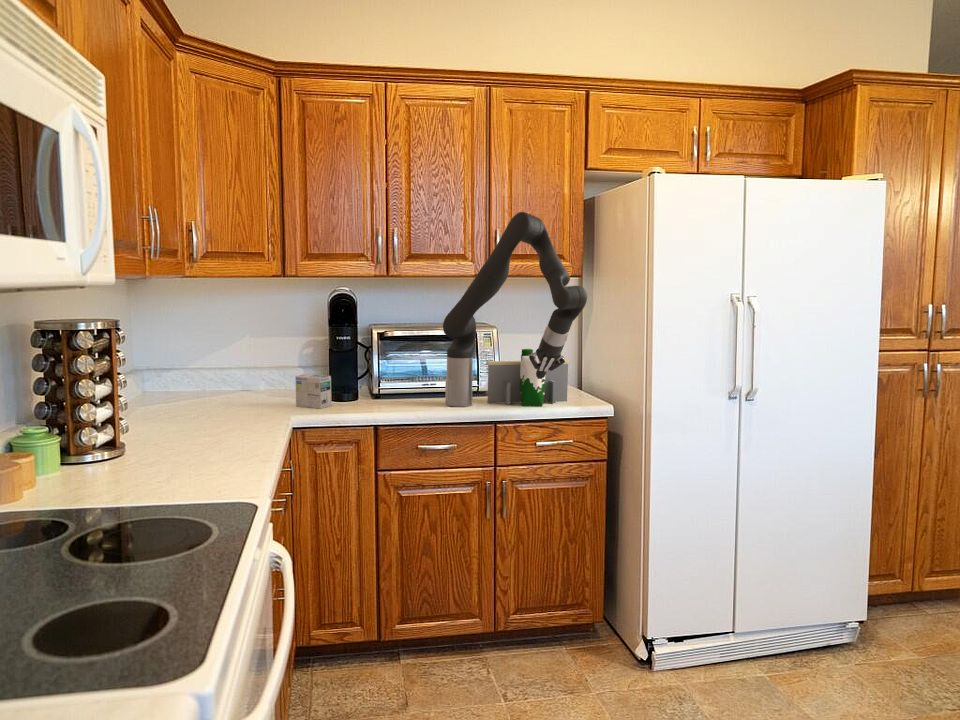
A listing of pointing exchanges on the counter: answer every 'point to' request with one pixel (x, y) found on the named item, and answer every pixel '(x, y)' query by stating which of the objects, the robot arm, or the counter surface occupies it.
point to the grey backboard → (508, 382)
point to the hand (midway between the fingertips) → (539, 377)
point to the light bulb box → (313, 391)
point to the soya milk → (530, 382)
